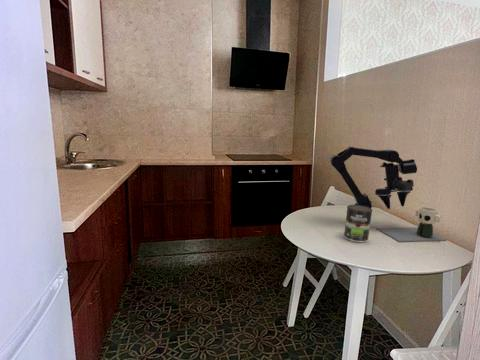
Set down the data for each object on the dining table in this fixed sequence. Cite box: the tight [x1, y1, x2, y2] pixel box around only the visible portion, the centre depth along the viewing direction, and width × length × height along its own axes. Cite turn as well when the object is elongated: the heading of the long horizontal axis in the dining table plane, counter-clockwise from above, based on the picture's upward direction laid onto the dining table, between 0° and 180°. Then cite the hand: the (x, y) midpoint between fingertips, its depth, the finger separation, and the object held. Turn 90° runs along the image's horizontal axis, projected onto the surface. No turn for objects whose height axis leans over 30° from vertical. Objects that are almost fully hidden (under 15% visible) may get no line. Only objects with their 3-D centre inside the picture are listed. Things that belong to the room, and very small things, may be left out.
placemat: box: [376, 226, 448, 243], centre depth 137 cm, size 24×16×1 cm, turn 99°
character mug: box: [415, 206, 441, 237], centre depth 134 cm, size 11×7×13 cm, turn 27°
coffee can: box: [343, 204, 373, 243], centre depth 129 cm, size 10×10×14 cm
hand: (395, 207), depth 141 cm, fingers open, 9 cm apart
